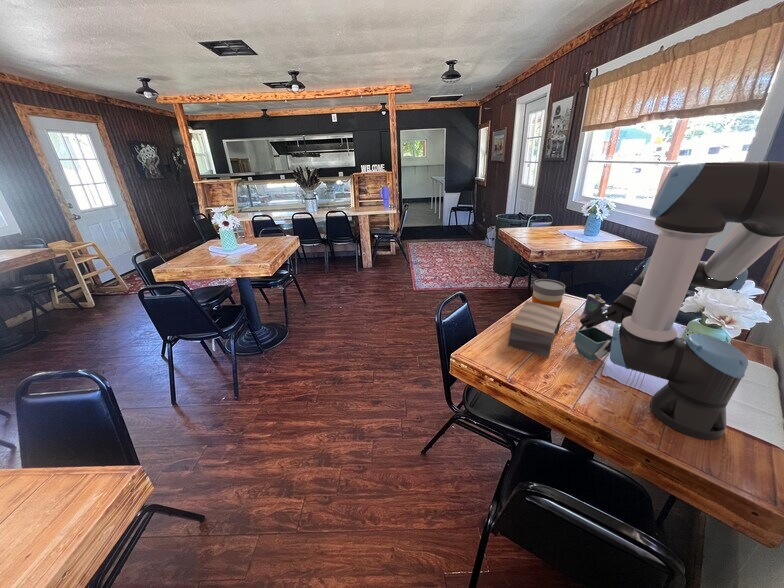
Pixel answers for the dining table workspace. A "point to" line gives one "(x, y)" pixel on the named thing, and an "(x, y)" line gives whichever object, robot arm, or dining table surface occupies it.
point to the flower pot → (590, 342)
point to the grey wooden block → (535, 328)
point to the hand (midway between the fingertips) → (585, 348)
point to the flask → (592, 303)
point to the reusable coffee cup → (548, 292)
